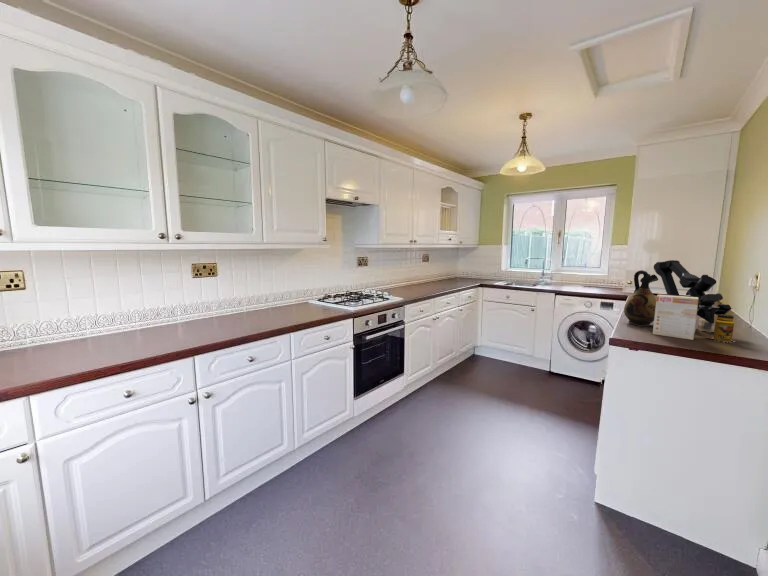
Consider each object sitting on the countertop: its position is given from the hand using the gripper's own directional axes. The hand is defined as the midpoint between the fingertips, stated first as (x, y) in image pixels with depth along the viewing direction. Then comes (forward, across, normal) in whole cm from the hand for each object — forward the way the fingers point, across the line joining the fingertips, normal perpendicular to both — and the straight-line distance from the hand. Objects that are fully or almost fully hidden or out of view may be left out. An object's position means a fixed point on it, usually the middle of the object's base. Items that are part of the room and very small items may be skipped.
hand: (712, 323), depth 161 cm
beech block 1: (-3, -3, +12) cm, 13 cm away
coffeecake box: (+7, -18, +3) cm, 19 cm away
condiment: (+9, 0, +1) cm, 9 cm away
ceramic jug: (-11, -20, +21) cm, 31 cm away
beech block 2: (-5, +6, +14) cm, 16 cm away
